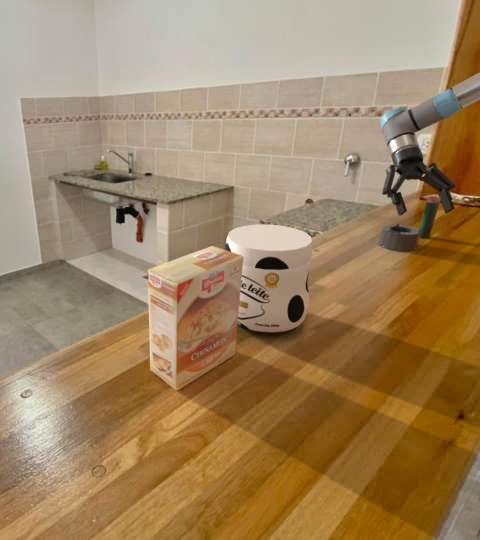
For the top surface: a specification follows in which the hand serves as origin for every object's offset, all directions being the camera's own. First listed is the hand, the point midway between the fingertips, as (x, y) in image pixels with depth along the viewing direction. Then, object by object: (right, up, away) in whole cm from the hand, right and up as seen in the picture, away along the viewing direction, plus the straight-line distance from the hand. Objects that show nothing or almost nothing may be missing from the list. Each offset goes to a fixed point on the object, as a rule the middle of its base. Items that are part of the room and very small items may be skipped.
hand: (426, 212), depth 113 cm
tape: (-11, -10, -3) cm, 15 cm away
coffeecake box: (-78, -34, -46) cm, 97 cm away
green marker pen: (+1, -7, +2) cm, 7 cm away
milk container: (-62, -27, -34) cm, 76 cm away
